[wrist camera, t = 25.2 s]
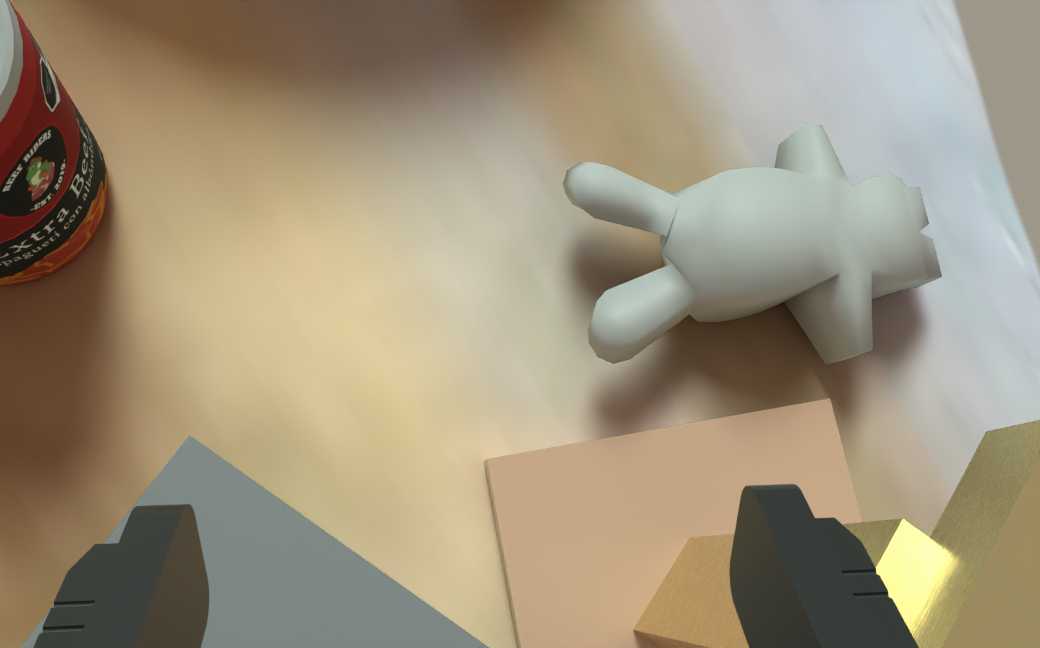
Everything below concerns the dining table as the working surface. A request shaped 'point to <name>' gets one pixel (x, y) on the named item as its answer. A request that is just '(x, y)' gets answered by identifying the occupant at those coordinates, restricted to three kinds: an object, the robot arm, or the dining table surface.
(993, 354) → the dining table surface
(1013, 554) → the t key
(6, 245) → the canned food
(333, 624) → the cover plate
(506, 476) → the tile
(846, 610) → the robot arm
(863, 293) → the bunny figurine
